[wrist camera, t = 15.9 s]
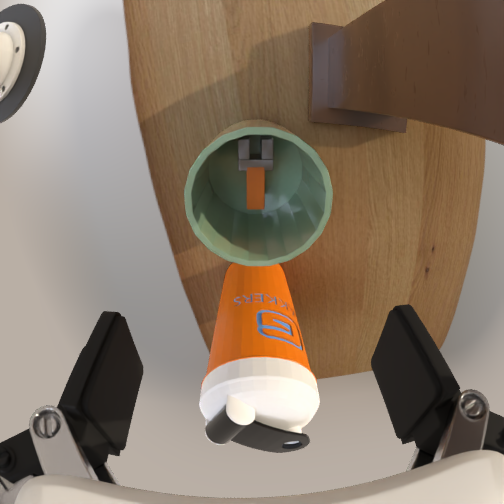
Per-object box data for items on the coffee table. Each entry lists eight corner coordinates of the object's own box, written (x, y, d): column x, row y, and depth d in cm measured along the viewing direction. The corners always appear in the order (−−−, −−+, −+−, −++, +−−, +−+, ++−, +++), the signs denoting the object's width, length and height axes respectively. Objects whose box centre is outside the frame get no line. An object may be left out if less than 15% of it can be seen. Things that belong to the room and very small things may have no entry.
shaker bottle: (276, 316, 37) (293, 464, 20) (208, 299, 36) (186, 452, 18) (304, 258, 33) (351, 416, 16) (228, 236, 32) (210, 401, 14)
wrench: (270, 199, 29) (272, 209, 26) (239, 199, 29) (238, 209, 26) (270, 135, 26) (273, 139, 23) (238, 135, 26) (237, 139, 23)
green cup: (207, 216, 31) (191, 266, 22) (202, 120, 26) (179, 129, 17) (302, 216, 31) (324, 265, 22) (307, 120, 26) (337, 130, 17)
